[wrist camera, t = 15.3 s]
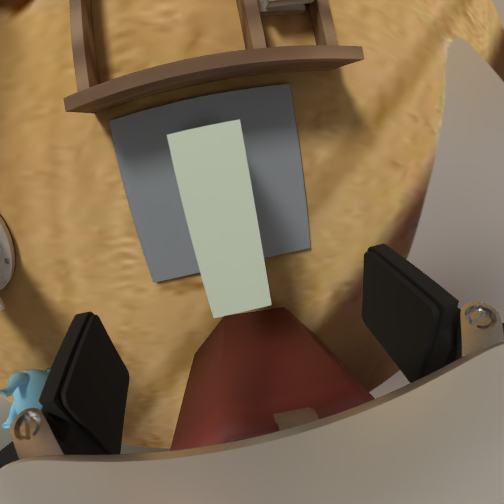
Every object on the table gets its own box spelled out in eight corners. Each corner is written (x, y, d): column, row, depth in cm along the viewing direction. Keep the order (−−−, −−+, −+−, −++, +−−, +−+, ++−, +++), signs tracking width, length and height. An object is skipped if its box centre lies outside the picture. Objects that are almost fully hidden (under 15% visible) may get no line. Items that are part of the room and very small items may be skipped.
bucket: (303, 405, 47) (349, 529, 24) (172, 407, 42) (178, 552, 20) (351, 285, 38) (468, 435, 15) (175, 273, 33) (162, 500, 10)
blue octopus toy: (20, 342, 33) (-6, 388, 24) (94, 380, 38) (80, 432, 29) (18, 387, 37) (1, 428, 28) (81, 418, 41) (71, 462, 32)
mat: (308, 245, 34) (310, 247, 34) (154, 279, 33) (153, 282, 32) (287, 84, 27) (289, 83, 26) (110, 121, 25) (108, 121, 25)
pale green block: (244, 236, 32) (271, 305, 20) (207, 244, 32) (213, 318, 20) (222, 122, 27) (239, 119, 15) (181, 131, 26) (166, 134, 15)
